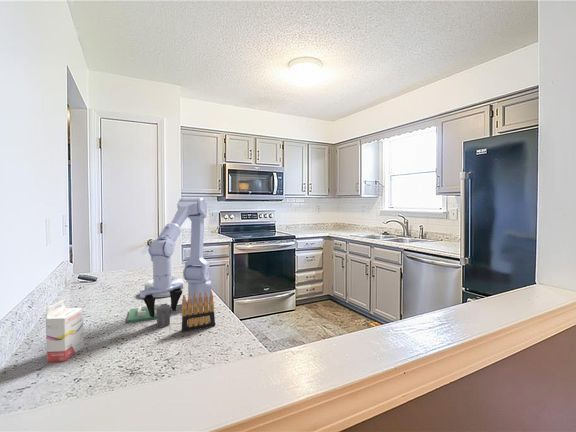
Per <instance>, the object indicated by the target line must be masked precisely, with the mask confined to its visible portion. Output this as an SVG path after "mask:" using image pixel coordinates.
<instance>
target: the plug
mask: <svg viewBox="0 0 576 432" xmlns="http://www.w3.org/2000/svg"><path fill="white" fill-rule="evenodd" d="M169 308H170V304H167V305H162V306H157V319H156V327H157V328H160V327H161V328H166V327H169V326H170V325H171V323H170V320H171V319H170V317H171V316H170V312H169Z"/></svg>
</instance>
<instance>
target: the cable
mask: <svg viewBox="0 0 576 432" xmlns="http://www.w3.org/2000/svg"><path fill="white" fill-rule="evenodd" d="M175 283H183V288H184V289H185V283H184V281H183V278H182V277H180V276H176V275H175V276H174V275H171V284H175ZM152 287H153V278H152V279H150V280H147V281H146V282H145V283H144V289H143V290H146V289H149V288H152ZM184 289H181V290H182V291H183V290H184ZM152 296H153V298H166V297H170V292H164V293H160V294H155V295H152Z"/></svg>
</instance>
